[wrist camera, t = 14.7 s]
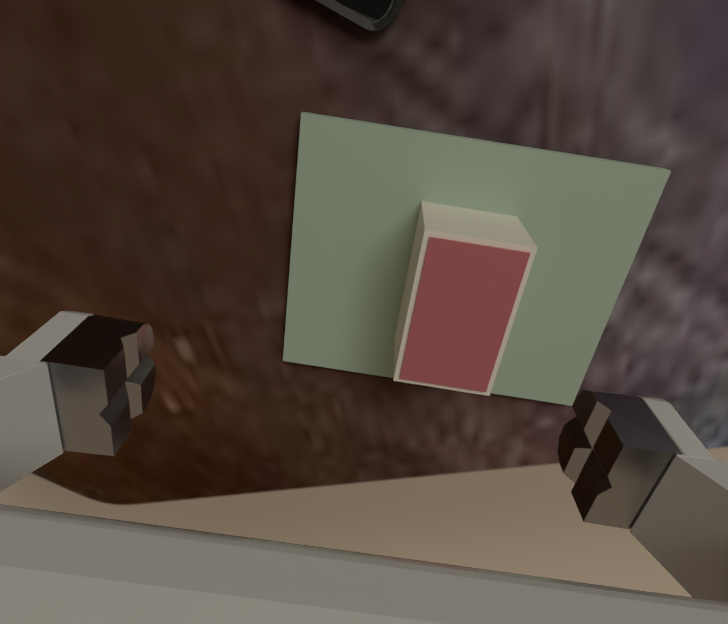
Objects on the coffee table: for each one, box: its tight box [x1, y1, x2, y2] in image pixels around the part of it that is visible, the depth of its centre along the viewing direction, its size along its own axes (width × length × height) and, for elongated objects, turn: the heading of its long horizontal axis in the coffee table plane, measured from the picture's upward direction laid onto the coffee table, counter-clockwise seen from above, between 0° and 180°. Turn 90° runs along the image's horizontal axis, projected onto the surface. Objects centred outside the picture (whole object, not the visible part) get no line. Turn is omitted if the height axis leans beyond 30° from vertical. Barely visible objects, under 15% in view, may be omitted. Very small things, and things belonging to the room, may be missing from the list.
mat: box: [283, 112, 671, 406], centre depth 31 cm, size 20×16×1 cm
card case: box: [393, 201, 538, 396], centre depth 28 cm, size 9×6×5 cm, turn 172°
